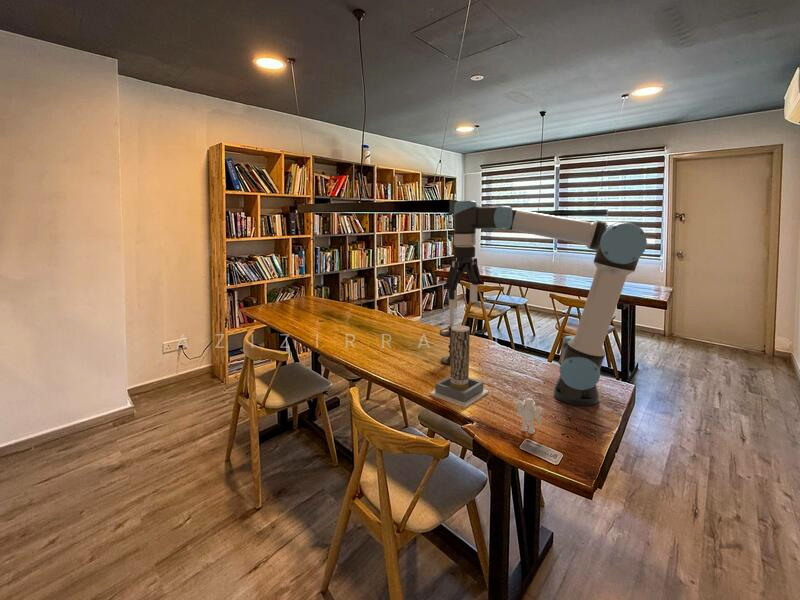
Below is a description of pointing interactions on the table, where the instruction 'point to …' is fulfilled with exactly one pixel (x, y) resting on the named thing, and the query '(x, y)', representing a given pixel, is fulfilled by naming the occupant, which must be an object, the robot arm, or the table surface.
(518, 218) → the robot arm
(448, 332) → the candlestick
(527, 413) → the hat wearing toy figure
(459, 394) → the collar stand
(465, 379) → the paper tube
